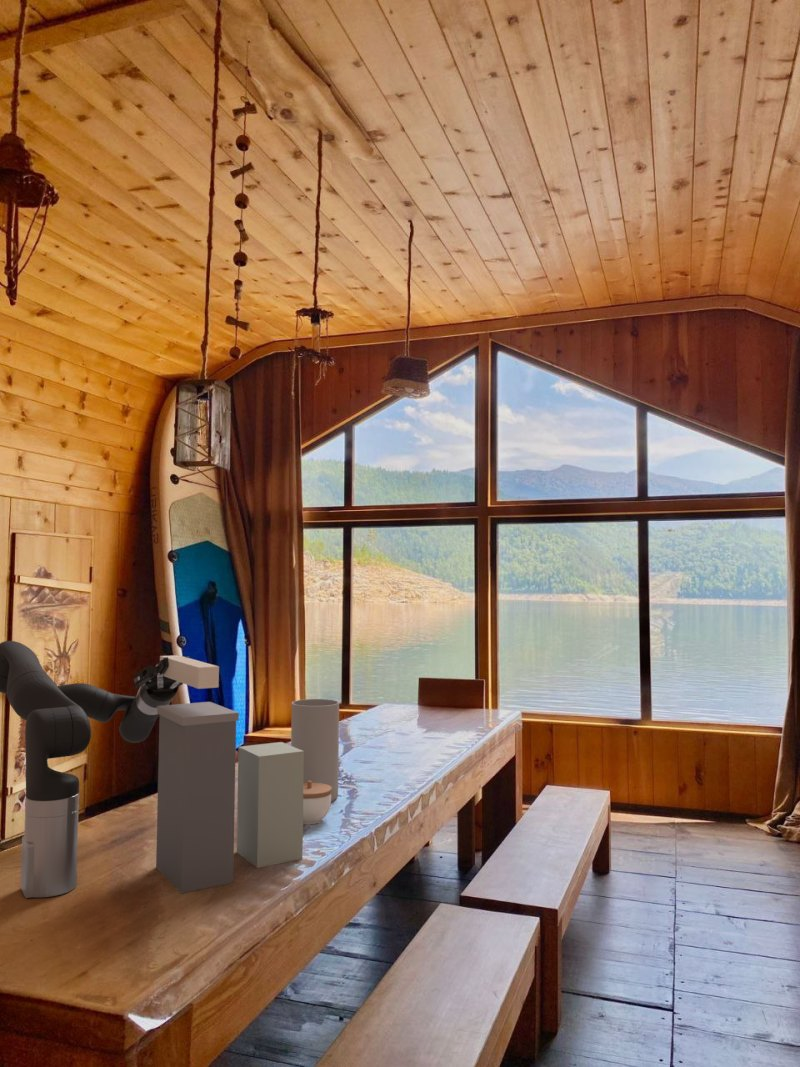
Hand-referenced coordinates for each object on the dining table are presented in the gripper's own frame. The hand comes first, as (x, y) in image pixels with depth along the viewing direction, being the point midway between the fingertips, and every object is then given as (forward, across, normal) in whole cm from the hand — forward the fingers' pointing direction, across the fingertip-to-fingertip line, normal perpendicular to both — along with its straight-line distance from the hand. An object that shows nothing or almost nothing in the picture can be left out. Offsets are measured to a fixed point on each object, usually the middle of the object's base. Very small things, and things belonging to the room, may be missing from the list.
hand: (177, 661), depth 172 cm
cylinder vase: (-41, +45, +23) cm, 65 cm away
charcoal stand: (-9, 0, +41) cm, 42 cm away
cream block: (+4, 0, +6) cm, 7 cm away
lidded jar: (-26, +35, +32) cm, 54 cm away
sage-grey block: (-11, +17, +40) cm, 45 cm away
